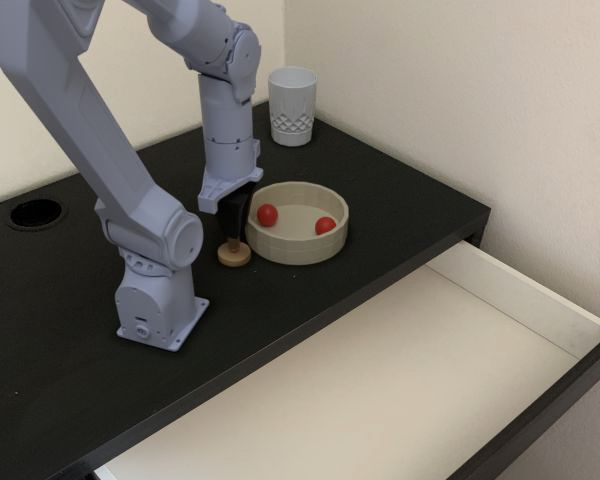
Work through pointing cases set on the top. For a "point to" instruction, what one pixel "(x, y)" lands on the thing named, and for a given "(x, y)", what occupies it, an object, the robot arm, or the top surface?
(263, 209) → the tomato
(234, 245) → the wooden peg stand
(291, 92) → the white cup
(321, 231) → the tomato
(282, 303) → the top surface
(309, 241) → the bowl
